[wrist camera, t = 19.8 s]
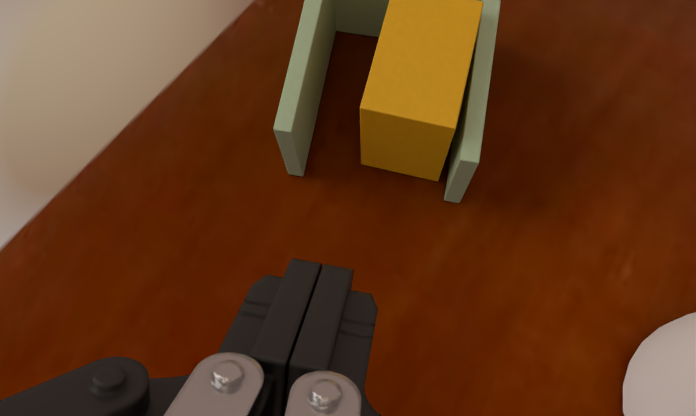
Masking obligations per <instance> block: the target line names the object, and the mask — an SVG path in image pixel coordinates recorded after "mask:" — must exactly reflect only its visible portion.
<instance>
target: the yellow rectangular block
mask: <svg viewBox="0 0 696 416" xmlns="http://www.w3.org/2000/svg"><path fill="white" fill-rule="evenodd" d="M483 5H484V2H482V1H477V0H389V4H388V7H387V11H386V15H385V18H384V22H383V25H382V29H381V33H380V36H379V40H378V43H377V47H376V51H375V54H374V58H373V61H372V65H371V69H370V72H369V76H368V79H367V83H366V87H365V90H364V94H363V98H362V101H361V105H360V145H361V164H363V165H367V166H371V167H376V168H380V169H384V170H389V171H393V172H398V173H402V174H406V175H411V176H415V177H419V178H424V179H428V180H433V181H439V178H440V175H441V172H442V169H443V166H444V163H445V160H446V157H447V154H448V151H449V148H450V145H451V142H452V139H453V136H454V133H455V130H456V126H457V121H458V117H459V112H460V108H461V103H462V99H463V94H464V90H465V86H466V81H467V77H468V72H469V68H470V63H471V59H472V54H473V50H474V45H475V41H476V36H477V32H478V27H479V23H480V18H481V14H482V9H483Z"/></svg>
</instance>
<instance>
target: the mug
mask: <svg viewBox="0 0 696 416" xmlns="http://www.w3.org/2000/svg"><path fill="white" fill-rule="evenodd" d="M623 413H624V416H696V312H695V313H691V314H688V315H685V316H683V317H681V318H678V319H676V320H674V321H672V322H669V323H667V324H665V325H663V326H661V327H659V328H658V329H657V330H656V331H654V332H653V333H652V334H651V335H650V336H648V337H647V338H646V339H645V340H644V341H643V342H642V343H641V344H640V346H639V347H638V349H637V350H636V352H635V354H634V355H633V357H632V358H631V360H630V362H629V365H628V369H627V372H626V376H625V379H624V383H623Z"/></svg>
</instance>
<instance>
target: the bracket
mask: <svg viewBox="0 0 696 416" xmlns="http://www.w3.org/2000/svg"><path fill="white" fill-rule="evenodd" d="M477 1H482V2H484V5H483V9H482V14H481V18H480V23H479V27H478V32H477V36H476V41H475V45H474V50H473V54H472V59H471V63H470V68H469V72H468V77H467V81H466V86H465V90H464V94H463V99H462V103H461V108H460V112H459V117H458V121H457V126H456V130H455V133H454V136H453V142H452V149H451V156H450V162H449V169H448V176H447V183H446V189H445V196H444V200H445V201H450V202H456V203H460V201H461V199H462V197H463V195H464V193H465V191H466V189H467V187H468V185H469V182H470V180H471V178H472V176H473V174H474V172H475V170H476V168H477V166H478V164H479V160H480V152H481V145H482V137H483V130H484V122H485V115H486V107H487V100H488V92H489V85H490V78H491V70H492V63H493V55H494V48H495V40H496V33H497V25H498V18H499V10H500V3H501V0H477ZM388 4H389V0H305V2H304V6H303V10H302V14H301V19H300V23H299V27H298V31H297V35H296V39H295V43H294V47H293V51H292V55H291V59H290V63H289V67H288V71H287V75H286V79H285V83H284V87H283V91H282V95H281V100H280V104H279V108H278V112H277V116H276V120H275V124H274V128H273V130H274V133H275V136H276V139H277V142H278V145H279V148H280V151H281V154H282V157H283V160H284V163H285V166H286V169H287V172H288V174H291V175H297V176H303V175H304V171H305V167H306V162H307V158H308V153H309V149H310V144H311V140H312V135H313V131H314V127H315V122H316V118H317V113H318V109H319V104H320V100H321V95H322V91H323V87H324V82H325V78H326V73H327V69H328V64H329V60H330V55H331V51H332V47H333V42H334V38H335V33H336V31H340V32H347V33H354V34H360V35H367V36H374V37H379V36H380V33H381V29H382V25H383V22H384V18H385V15H386V11H387V7H388Z"/></svg>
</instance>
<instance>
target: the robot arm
mask: <svg viewBox="0 0 696 416" xmlns="http://www.w3.org/2000/svg"><path fill="white" fill-rule="evenodd" d="M353 272H354V269H349V268H343V267H338V266H332V265H327V264H324V265H323V267H322V264H321V263H315V262H310V261H304V260H299V259H293V258H292V259H291V261H290V263H289V266H288V268H287V270H286V273H285V275H284V277H283V278H282V277H276V276H271V275H266V276H264V277H263V278H261V279H260V280H259V281H257V282H256V283H255V284H253V285H252V286H251V288H250V290H249V292H248V294H247V296H246V298H245V301H244V302H243V304H242V306H241V308H240V310H239V313H238V314H237V316H236V317H235V319H234V321H233V323H232V325H231V327H230V329H229V331H228V333H227V335H226V337H225V339H224V341H223V343H222V345H221V347H220V349H219V351H218V353H217V354H215V355H212V356H210V357H207V358H206V359H204V360H202V361H201V362H200V363H199V364H198V365H197V366H196V367H195V369H194V370H193V372H192V373H191V374H189V375H186V376H181V377H171V378H153V379H149V374H148V371H147V369H146V368H145V367H144V366H143V365H142V364H141V363H140V362H138V361H136V360H133V359H130V358H126V357H109V358H104V359H100V360H97V361H94V362H92V363H90V364H87V365H85V366H82V367H80V368H77V369H75V370H73V371H70V372H68V373H65V374H63V375H61V376H58V377H56V378H53V379H51V380H49V381H46V382H44V383H41V384H39V385H37V386H34V387H32V388H29V389H27V390H25V391H22V392H20V393H17V394H15V395H13V396H10V397H8V398H5V399H3V400H0V416H381V415H380V414H378V413H377V412H376V411H375V410H374V409H373V408H372V406H371V405H370V404H369V402H368V400H367V398H366V395H365V391H364V384H365V379H366V373H367V367H368V361H369V356H370V350H371V344H372V338H373V333H374V327H375V321H376V316H377V310H378V308H377V306H376V304H375V301H374V299H373V297H372V295H371V294H369V293H364V292H358V291H353V290H351V287H352V280H353Z"/></svg>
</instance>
